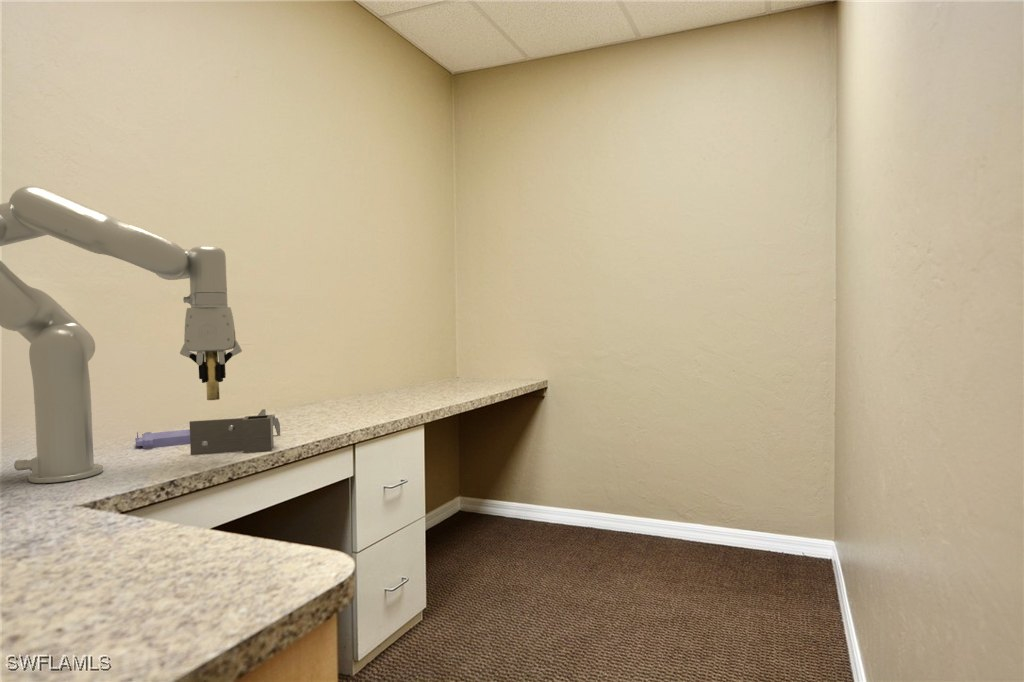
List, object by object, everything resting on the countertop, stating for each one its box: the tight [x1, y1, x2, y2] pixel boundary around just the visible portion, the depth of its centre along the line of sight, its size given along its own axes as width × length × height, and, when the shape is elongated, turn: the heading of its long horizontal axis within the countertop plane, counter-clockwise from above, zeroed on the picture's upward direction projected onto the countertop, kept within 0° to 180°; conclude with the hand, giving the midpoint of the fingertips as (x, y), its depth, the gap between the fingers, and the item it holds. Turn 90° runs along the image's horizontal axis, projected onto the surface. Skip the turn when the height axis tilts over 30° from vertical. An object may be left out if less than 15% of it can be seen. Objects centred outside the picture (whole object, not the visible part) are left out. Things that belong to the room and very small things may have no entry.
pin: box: [205, 351, 220, 401], centre depth 139 cm, size 3×3×12 cm
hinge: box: [189, 409, 275, 456], centre depth 155 cm, size 18×18×8 cm
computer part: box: [134, 429, 190, 450], centre depth 167 cm, size 30×4×15 cm
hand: (212, 381), depth 139 cm, fingers closed on pin, 2 cm apart
